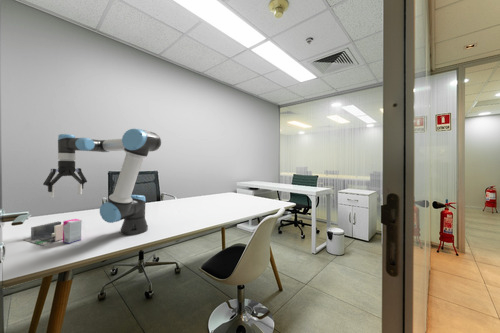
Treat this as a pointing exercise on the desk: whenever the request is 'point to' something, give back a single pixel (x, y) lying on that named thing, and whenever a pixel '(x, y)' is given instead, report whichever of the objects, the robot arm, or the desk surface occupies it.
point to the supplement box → (72, 231)
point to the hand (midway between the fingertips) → (66, 195)
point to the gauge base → (43, 234)
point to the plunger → (57, 233)
